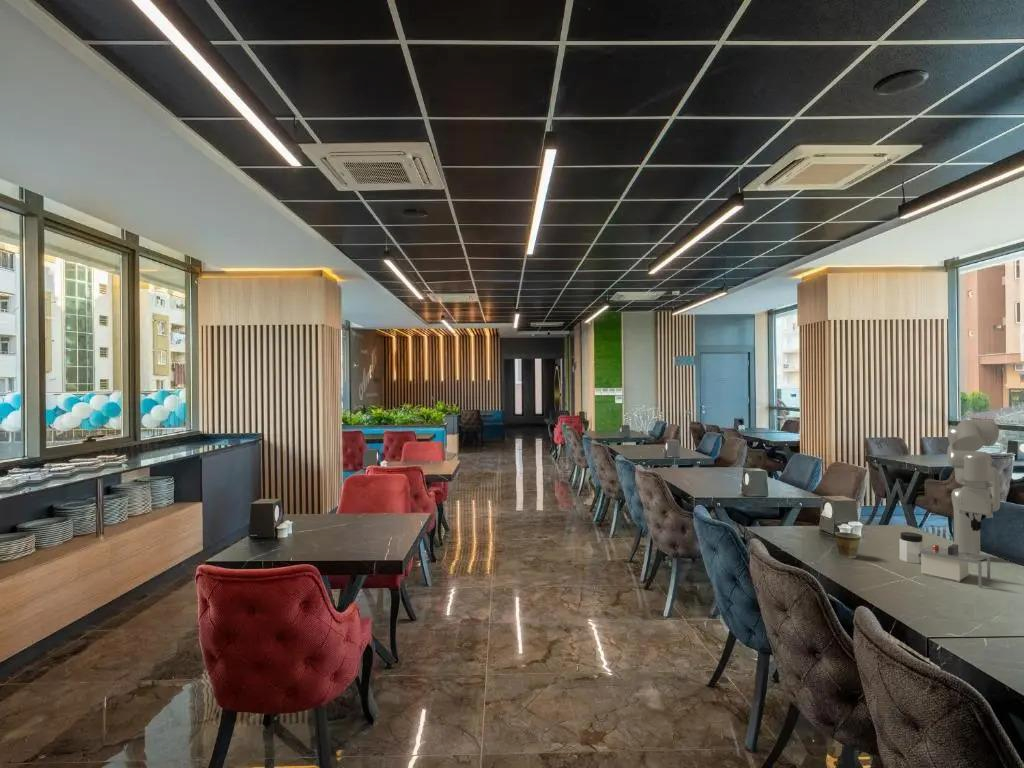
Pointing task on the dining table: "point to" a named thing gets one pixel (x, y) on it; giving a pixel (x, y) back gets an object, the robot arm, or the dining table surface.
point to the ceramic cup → (847, 544)
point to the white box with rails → (950, 566)
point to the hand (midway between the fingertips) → (976, 530)
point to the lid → (946, 551)
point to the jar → (910, 547)
